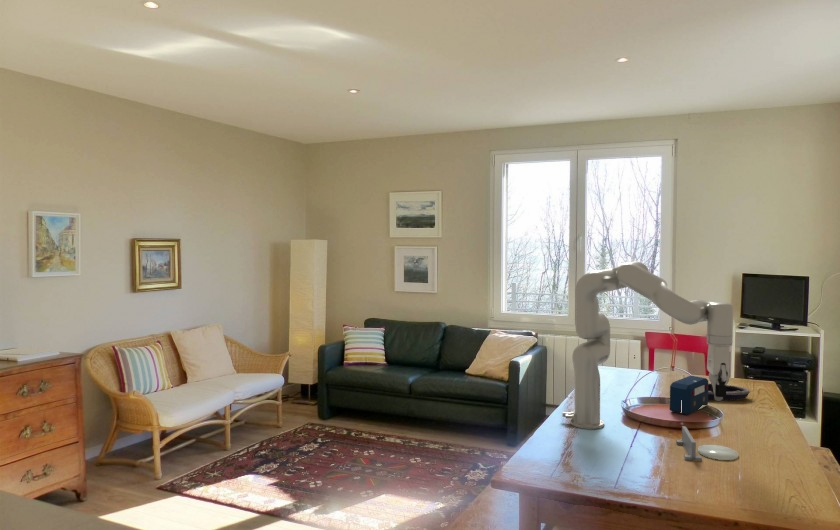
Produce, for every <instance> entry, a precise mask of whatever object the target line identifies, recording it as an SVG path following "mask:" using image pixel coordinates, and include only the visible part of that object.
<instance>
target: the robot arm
mask: <svg viewBox="0 0 840 530" xmlns="http://www.w3.org/2000/svg"><path fill="white" fill-rule="evenodd" d="M625 288H629V289H630V290H632V291H633V292H636V293H637V294H639V295H640V296H643V298H644V297H645V299H648V300H649V301H650V302H652V304H654V305H655V306H656V307H658V308H659V310H661V311H662V312H663V313H665V314H666V315H668V316H669V317H671V318H673V319H675V320H676V321H679V322H681V323H682V324H685V325H696V324H699V323H702V322H706V325H707V326H706V344H707V345H708V347H707V348H708V349H707V361H706V370H707V371H708V372H709V373H711V374H712V375H713V376H715V375H716V377H717V380H716V383H717V384H715V396H716V397H726V386H727V385H728V384H727V383H726V379H727V376H728V375H729V376H730V370H731V368H730V367H731V360H730V359H731V356H730V355H731V354H730V353H731V352H730V347H732V346H733V340H734V339H733V333H734V331H733V328H734V305H732V304H731V303H729V302H723V301H709V300H703V299H694V300H688V299H685V298H684V297H682V296H680V295H679V294H676V293H675V292H674V291H672V290H671V289H670V288H669V286H668V283H667V281H666V280H665V279H663V278H661V277H659V276H658V275H656V274H654V273H652V272H650V270H649V268H648V267H647V265H646V264H644V263H643V262H640V261H628V262H623V263H622V264H620V265H619V266H616V267H612V268H607V269H597V270H592V271H590V272H587V273H585V274H584V275H582V276H581V277H580V278H579V279H578V280H577V282H576V283H575V288H574V289H575V290H574V293H575V294H574V295H575V296H574V297H575V332H576V335H577V336H578V337H579V338H580V339H582V340H586V342H583V343H580V344H579V345H577V346H576V347H575V348H574V350H573V352H572V356H571V357H572V364H573V373H574V409H573V411H570V412H567V411H562V417H563V418H565V419H570V421H569V422H570V424H571V426H574V427H576V428H579V429H586V430H597V429H601V428H604V427H605V421H604V420H602V419H601V373H600V370H599V365H601V364H603V363H605V362H606V361H607V360H608V359H609V357H610V354H611V323H610V321H609V319H608V317H607V316H606V315H605V314H603V313H602V312H600V311H599V308H600V307H599V306H600V304H599V299H598V297H597V296H598V294H601V293H608V292H612V291H617V290H621V289H625ZM726 372H727V373H726ZM718 373H721V375H718ZM719 377H721V378H720V379H719ZM710 384H711V383H710ZM711 392H713V386H712V384H711Z"/></svg>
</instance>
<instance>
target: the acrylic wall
mask: <svg viewBox="0 0 840 530" xmlns="http://www.w3.org/2000/svg"><path fill="white" fill-rule="evenodd" d="M675 443H676V445H678V446H683V448H684V449H685V451H686V453H687V454H683V458H684V460H685V461H693V460H701V461H700V462H703V456H702V455H697V453H696V450H697V449H696V448H697V442H696V440H695V439H694V438H693V435H692V434H691V432H690V431H689V429H688V428H687V425H686V426H685V425H682V426H681V439H675Z"/></svg>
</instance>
